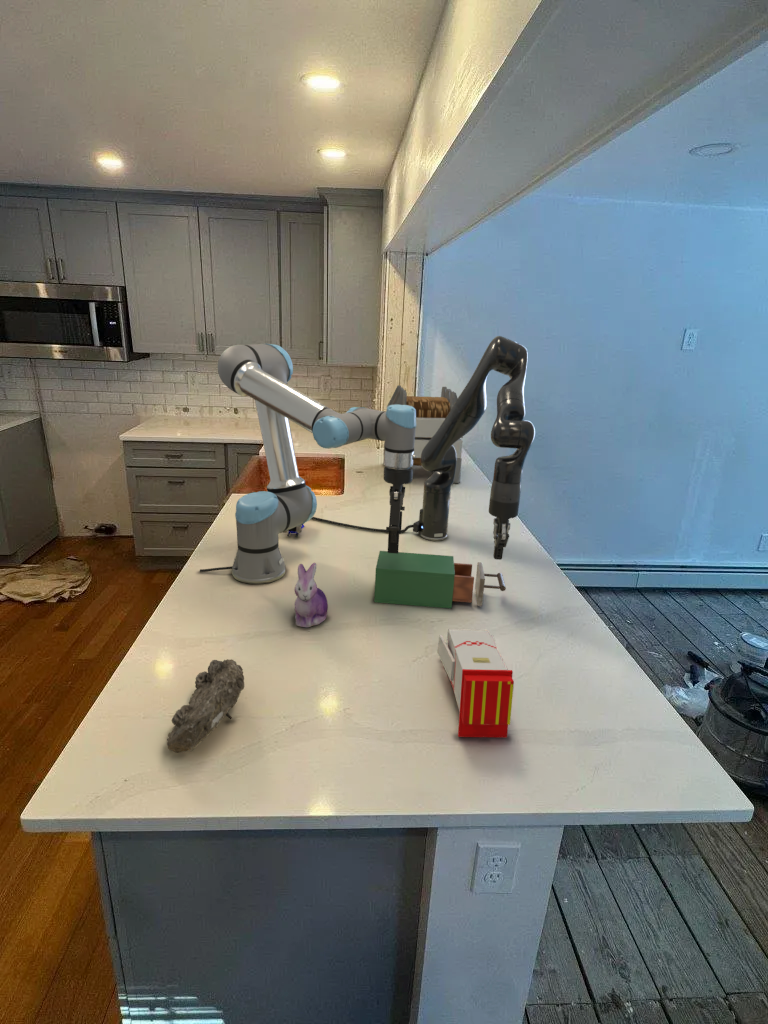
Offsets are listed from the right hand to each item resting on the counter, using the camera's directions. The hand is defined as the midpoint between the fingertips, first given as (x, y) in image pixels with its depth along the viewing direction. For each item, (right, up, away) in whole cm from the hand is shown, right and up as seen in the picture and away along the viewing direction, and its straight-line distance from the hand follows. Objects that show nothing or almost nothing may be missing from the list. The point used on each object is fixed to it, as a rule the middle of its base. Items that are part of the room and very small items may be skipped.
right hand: (497, 558), depth 152 cm
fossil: (-63, -27, -44) cm, 81 cm away
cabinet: (-22, -11, +6) cm, 25 cm away
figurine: (-49, -15, -9) cm, 52 cm away
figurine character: (-62, +6, +46) cm, 77 cm away
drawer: (-11, -11, +5) cm, 16 cm away
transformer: (-13, +31, +123) cm, 128 cm away
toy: (-13, -25, -33) cm, 44 cm away
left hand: (-28, +4, +1) cm, 28 cm away
